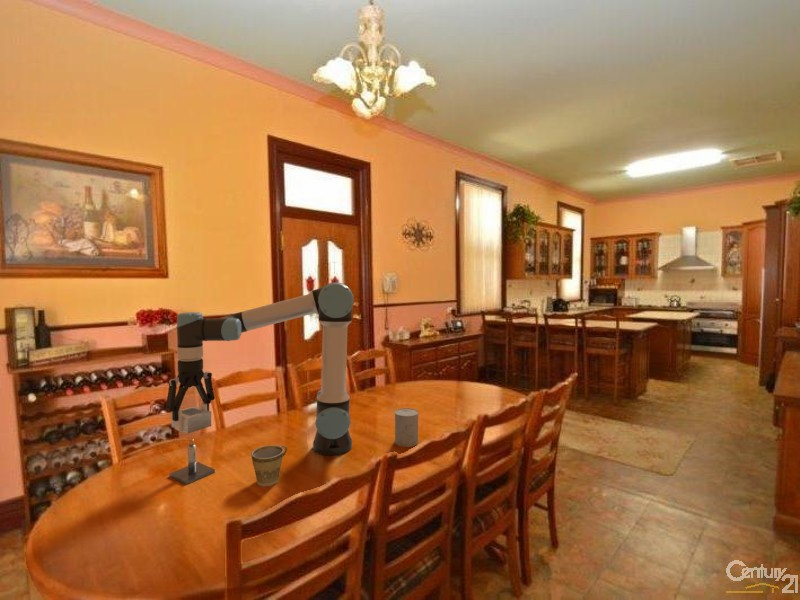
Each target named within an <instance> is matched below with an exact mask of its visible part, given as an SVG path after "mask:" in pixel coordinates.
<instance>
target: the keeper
mask: <svg viewBox="0 0 800 600" xmlns="http://www.w3.org/2000/svg"><path fill="white" fill-rule="evenodd" d="M186 448H187V466H185V467H183V468H180V469H178V470H175V471H172V472H170V473H169V475H168V476H169V478H172V479H174V480H175V481H177V482H179V483H182V484H183V485H185V486H187V485H189V484H191V483H193V482H195V481H199V480H201V479H202V478H203V479H204V478H205V477H208V476H210V475H212V474H215V473H216V469H214V468H213V467H211V466H209V465H207V464H204V463H201V462H197V445H196V443H195V438H190V439H188V445H187V447H186Z"/></svg>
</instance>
